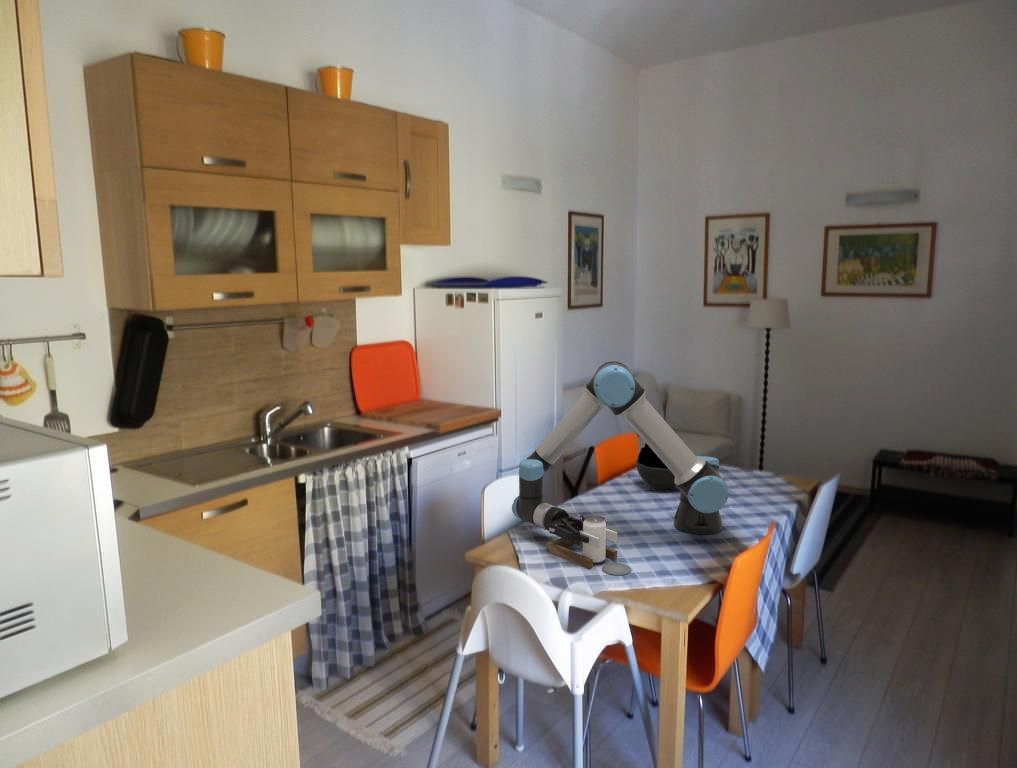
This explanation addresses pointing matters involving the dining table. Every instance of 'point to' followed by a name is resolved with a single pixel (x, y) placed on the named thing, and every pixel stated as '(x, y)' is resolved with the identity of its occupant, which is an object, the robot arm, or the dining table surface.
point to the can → (598, 529)
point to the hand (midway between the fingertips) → (607, 540)
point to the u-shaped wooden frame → (560, 550)
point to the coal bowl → (654, 469)
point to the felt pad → (616, 569)
